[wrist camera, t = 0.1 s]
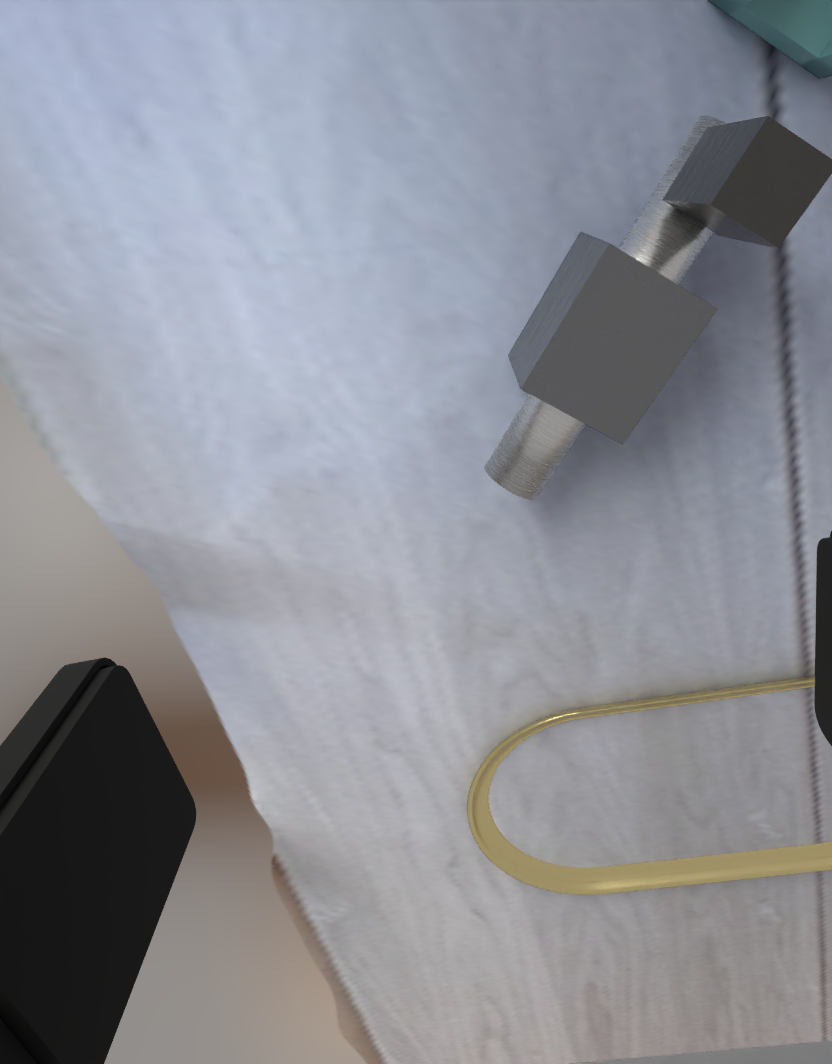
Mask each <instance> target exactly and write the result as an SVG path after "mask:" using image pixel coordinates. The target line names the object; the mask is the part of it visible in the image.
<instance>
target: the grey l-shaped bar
mask: <svg viewBox="0 0 832 1064" xmlns="http://www.w3.org/2000/svg"><path fill="white" fill-rule="evenodd" d="M831 174H832V159H831V158H829V157H828V156H826V155H825V154H823V153H822V152H820V151H819V150H817V149H816V148H814V147H813V146H811V145H810V144H808V143H807V142H805V141H804V140H803V139H801V138H800V137H798V136H797V135H795V134H794V133H792V132H791V131H789V130H788V129H786V128H785V127H783V126H782V125H780V124H779V123H777V122H776V121H775V120H773V119H772V118H770V117H769V116H766V117H761V118H755V119H750V120H745V121H739V122H734V123H729V124H727V123H725V122H723V121H720V120H718V119H715V118H712V117H707V116H701V117H700V118H699V119H698V121H697V122H696V124H695V126H694V127H693V129H692V130H691V132H690V134H689V135H688V137H687V139H686V140H685V142H684V143H683V145H682V147H681V148H680V150H679V152H678V153H677V155H676V156H675V158H674V160H673V161H672V163H671V165H670V166H669V168H668V169H667V171H666V173H665V174H664V176H663V178H662V179H661V181H660V182H659V184H658V186H657V187H656V189H655V191H654V192H653V194H652V195H651V197H650V199H649V200H648V202H647V204H646V205H645V207H644V208H643V210H642V212H641V213H640V215H639V217H638V218H637V220H636V221H635V223H634V225H633V226H632V228H631V230H630V231H629V233H628V234H627V236H626V238H625V239H624V241H623V243H622V244H621V246H620V247H619V249H620V250H621V251H623V252H625V253H626V254H628V255H630V256H631V257H633V258H635V259H636V260H638V261H640V262H641V263H643V264H644V265H646V266H648V267H649V268H651V269H653V270H654V271H656V272H658V273H659V274H661V275H663V276H664V277H666V278H668V279H669V280H671V281H673V282H674V283H676V284H678V285H679V284H680V282H681V281H682V279H683V278H684V276H685V275H686V273H687V272H688V270H689V269H690V267H691V266H692V264H693V263H694V261H695V260H696V258H697V257H698V255H699V254H700V252H701V251H702V249H703V248H704V246H705V245H706V243H707V242H708V240H709V239H710V237H711V236H712V234H713V233H716V234H717V235H719V236H723V237H728V238H733V239H737V240H742V241H747V242H752V243H756V244H761V245H766V246H771V247H776V248H779V247H780V245H781V244H782V242H783V241H784V240H785V238H786V237H787V235H788V234H789V233H790V231H791V230H792V228H793V227H794V226H795V224H796V223H797V221H798V220H799V219H800V217H801V216H802V214H803V213H804V212H805V210H806V209H807V207H808V206H809V205H810V203H811V202H812V200H813V199H814V198H815V196H816V195H817V193H818V192H819V191H820V189H821V188H822V186H823V185H824V183H825V182H826V181H827V179H828V178H829V176H830V175H831ZM585 425H586V424H584V423H582V422H580V421H579V420H577V419H575V418H573V417H571V416H569V415H568V414H566V413H564V412H562V411H560V410H558V409H557V408H555V407H553V406H551V405H549V404H547V403H546V402H544V401H542V400H540V399H538V398H536V397H535V396H533V395H531V394H529V395H528V397H527V398H526V400H525V402H524V403H523V405H522V407H521V408H520V410H519V411H518V413H517V415H516V416H515V418H514V420H513V421H512V423H511V424H510V426H509V428H508V429H507V431H506V433H505V434H504V436H503V437H502V439H501V441H500V442H499V444H498V446H497V447H496V449H495V450H494V452H493V454H492V455H491V457H490V459H489V460H488V462H487V463H486V465H485V470H486V472H487V474H488V475H489V476H490V477H491V478H492V479H493V480H494V481H495V482H496V483H498V484H499V485H500V486H502V487H503V488H505V489H506V490H508V491H510V492H512V493H513V494H515V495H518V496H520V497H522V498H526V499H530V500H534V499H536V498H537V496H538V495H539V493H540V492H541V490H542V489H543V487H544V486H545V484H546V483H547V481H548V480H549V478H550V477H551V475H552V474H553V472H554V471H555V469H556V468H557V466H558V465H559V463H560V462H561V461H562V459H563V458H564V456H565V455H566V453H567V452H568V450H569V449H570V447H571V446H572V444H573V443H574V441H575V440H576V438H577V437H578V435H579V434H580V432H581V431H582V429H583V428H584V426H585Z"/></svg>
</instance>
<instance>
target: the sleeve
mask: <svg viewBox="0 0 832 1064" xmlns="http://www.w3.org/2000/svg"><path fill="white" fill-rule="evenodd" d="M716 310H717V308H715V307H714V306H712V305H711V304H709V303H707V302H706V301H704V300H702V299H701V298H699V297H697V296H696V295H694V294H692V293H691V292H689V291H687V290H686V289H684V288H682V287H681V286H679V285H678V284H676V283H674V282H673V281H671V280H669V279H668V278H666V277H664V276H663V275H661V274H659V273H658V272H656V271H654V270H653V269H651V268H649V267H648V266H646V265H644V264H643V263H641V262H640V261H638V260H636V259H635V258H633V257H631V256H630V255H628V254H626V253H625V252H623V251H621V250H620V249H618V248H616V247H615V246H613V245H611V244H610V243H608V242H605V241H602V240H600V239H597V238H595V237H592V236H590V235H587V234H584V233H582V232H580V234H579V235H578V237H577V239H576V241H575V242H574V244H573V246H572V247H571V249H570V251H569V252H568V254H567V256H566V258H565V259H564V261H563V263H562V264H561V266H560V268H559V270H558V271H557V273H556V275H555V276H554V278H553V280H552V281H551V283H550V285H549V287H548V288H547V290H546V292H545V293H544V295H543V297H542V299H541V300H540V302H539V304H538V305H537V307H536V309H535V310H534V312H533V314H532V316H531V317H530V319H529V321H528V322H527V324H526V326H525V327H524V329H523V331H522V333H521V334H520V336H519V338H518V339H517V341H516V343H515V345H514V346H513V348H512V350H511V351H510V353H509V355H508V357H509V359H510V362H511V365H512V367H513V370H514V372H515V375H516V378H517V380H518V383H519V386H520V388H521V389H522V390H524V391H525V392H527V393H529V394H531V395H533V396H535V397H536V398H538V399H540V400H542V401H544V402H546V403H547V404H549V405H551V406H553V407H555V408H557V409H558V410H560V411H562V412H564V413H566V414H568V415H569V416H571V417H573V418H575V419H577V420H579V421H580V422H582V423H584V424H586V425H588V426H590V427H591V428H593V429H595V430H597V431H599V432H601V433H602V434H604V435H606V436H608V437H610V438H612V439H613V440H615V441H617V442H619V443H621V444H623V443H624V441H625V440H626V439H627V437H628V436H629V434H630V433H631V432H632V430H633V429H634V427H635V426H636V424H637V423H638V422H639V420H640V419H641V417H642V416H643V414H644V413H645V412H646V410H647V409H648V407H649V406H650V404H651V403H652V402H653V400H654V399H655V397H656V396H657V394H658V393H659V392H660V390H661V389H662V387H663V386H664V384H665V383H666V382H667V380H668V379H669V377H670V376H671V375H672V373H673V372H674V370H675V369H676V367H677V366H678V365H679V363H680V362H681V360H682V359H683V357H684V356H685V355H686V353H687V352H688V350H689V349H690V347H691V346H692V345H693V343H694V342H695V340H696V339H697V337H698V336H699V335H700V333H701V332H702V330H703V329H704V327H705V326H706V325H707V323H708V322H709V320H710V319H711V318H712V316H713V315H714V313H715V312H716Z"/></svg>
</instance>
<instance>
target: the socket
mask: <svg viewBox="0 0 832 1064" xmlns="http://www.w3.org/2000/svg"><path fill="white" fill-rule="evenodd" d="M709 1H710V2H711V3H713V4H714V5H716V6H717V7H719V8H720V9H721V10H723V11H724V12H726V13H727V14H728V15H730V16H731V17H733V18H734V19H736V20H737V21H738V22H740V23H741V24H743V25H744V26H746V27H747V28H748V29H750V30H751V31H753V32H754V33H756V34H757V35H758V36H760V37H761V38H763V39H764V40H765V41H767V42H768V43H770V44H771V45H773V46H774V47H775V48H777V49H778V50H780V51H781V52H783V53H784V54H785V55H787V56H788V57H790V58H791V59H792V60H794V61H795V62H797V63H798V64H800V65H801V66H802V67H804V68H805V69H807V70H808V71H810V72H811V73H812V74H814V75H815V76H817V77H818V78H820V79H821V78H825V77H829V76H832V0H709Z"/></svg>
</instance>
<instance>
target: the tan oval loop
mask: <svg viewBox="0 0 832 1064" xmlns="http://www.w3.org/2000/svg"><path fill="white" fill-rule="evenodd" d="M807 687H815V676H811V677H803V678H796V679H789V680H782V681H774V682H767V683H760V684H752V685H745V686H738V687H730V688H723V689H716V690H709V691H701V692H694V693H687V694H679V695H672V696H665V697H657V698H650V699H643V700H636V701H628V702H621V703H614V704H606V705H599V706H592V707H584V708H577V709H572V710H567V711H563V712H559V713H556V714H552V715H549V716H547V717H544V718H541V719H539V720H537V721H534V722H532V723H530V724H528V725H526V726H524V727H523V728H521V729H519V730H517V731H516V732H514V733H513V734H511V735H510V736H509V737H507V738H506V739H505V740H504V741H502V742H501V743H500V744H499V745H498V746H497V747H496V748H495V749H494V750H493V751H492V752H491V753H490V754H489V755H488V756H487V757H486V759H485V760H484V761H483V763H482V764H481V766H480V767H479V769H478V770H477V772H476V774H475V776H474V778H473V781H472V783H471V786H470V790H469V794H468V800H467V816H468V822H469V826H470V829H471V832H472V835H473V837H474V839H475V841H476V843H477V844H478V846H479V848H480V849H481V850H482V852H483V853H484V854H485V855H486V857H487V858H488V859H489V860H490V861H491V862H492V863H494V864H495V865H496V866H497V867H498V868H500V869H501V870H502V871H504V872H505V873H507V874H508V875H510V876H512V877H514V878H516V879H517V880H520V881H522V882H524V883H526V884H529V885H532V886H534V887H537V888H541V889H545V890H549V891H554V892H559V893H566V894H578V895H596V894H609V893H618V892H628V891H637V890H646V889H656V888H665V887H675V886H684V885H694V884H703V883H712V882H722V881H731V880H741V879H750V878H760V877H769V876H778V875H788V874H797V873H807V872H816V871H825V870H832V841H831V842H826V843H820V844H811V845H802V846H793V847H784V848H774V849H765V850H756V851H747V852H737V853H728V854H719V855H710V856H701V857H691V858H682V859H673V860H664V861H655V862H645V863H636V864H627V865H618V866H608V867H599V868H573V867H565V866H559V865H554V864H550V863H547V862H544V861H541V860H538V859H536V858H533V857H531V856H529V855H527V854H525V853H524V852H522V851H520V850H519V849H518V848H516V847H515V846H513V845H512V844H511V843H510V842H509V841H508V840H507V839H506V838H505V837H504V836H503V835H502V834H501V832H500V831H499V830H498V828H497V826H496V825H495V823H494V820H493V818H492V815H491V812H490V807H489V789H490V785H491V781H492V778H493V776H494V773H495V771H496V770H497V768H498V766H499V765H500V763H501V762H502V760H503V759H504V758H505V757H506V755H507V754H508V753H509V752H510V751H511V750H512V749H513V748H514V747H516V746H517V745H518V744H519V743H521V742H522V741H523V740H525V739H526V738H528V737H529V736H531V735H533V734H535V733H537V732H538V731H541V730H543V729H545V728H547V727H550V726H553V725H556V724H558V723H562V722H566V721H570V720H575V719H580V718H588V717H595V716H602V715H610V714H617V713H624V712H632V711H639V710H646V709H654V708H661V707H668V706H676V705H683V704H690V703H698V702H705V701H712V700H719V699H727V698H734V697H741V696H749V695H756V694H763V693H771V692H778V691H785V690H793V689H800V688H807ZM494 757H495V758H494Z"/></svg>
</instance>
